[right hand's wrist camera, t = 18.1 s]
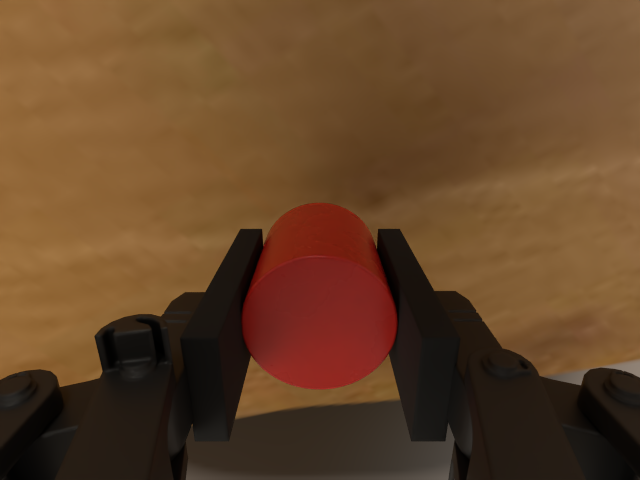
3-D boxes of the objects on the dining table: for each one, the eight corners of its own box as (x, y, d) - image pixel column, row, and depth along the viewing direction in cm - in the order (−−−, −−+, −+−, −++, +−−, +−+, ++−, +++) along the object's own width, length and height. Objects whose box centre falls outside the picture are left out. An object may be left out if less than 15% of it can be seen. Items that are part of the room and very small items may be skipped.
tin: (346, 182, 14) (359, 228, 9) (392, 278, 15) (421, 357, 11) (242, 232, 14) (210, 296, 10) (295, 320, 16) (286, 410, 11)
